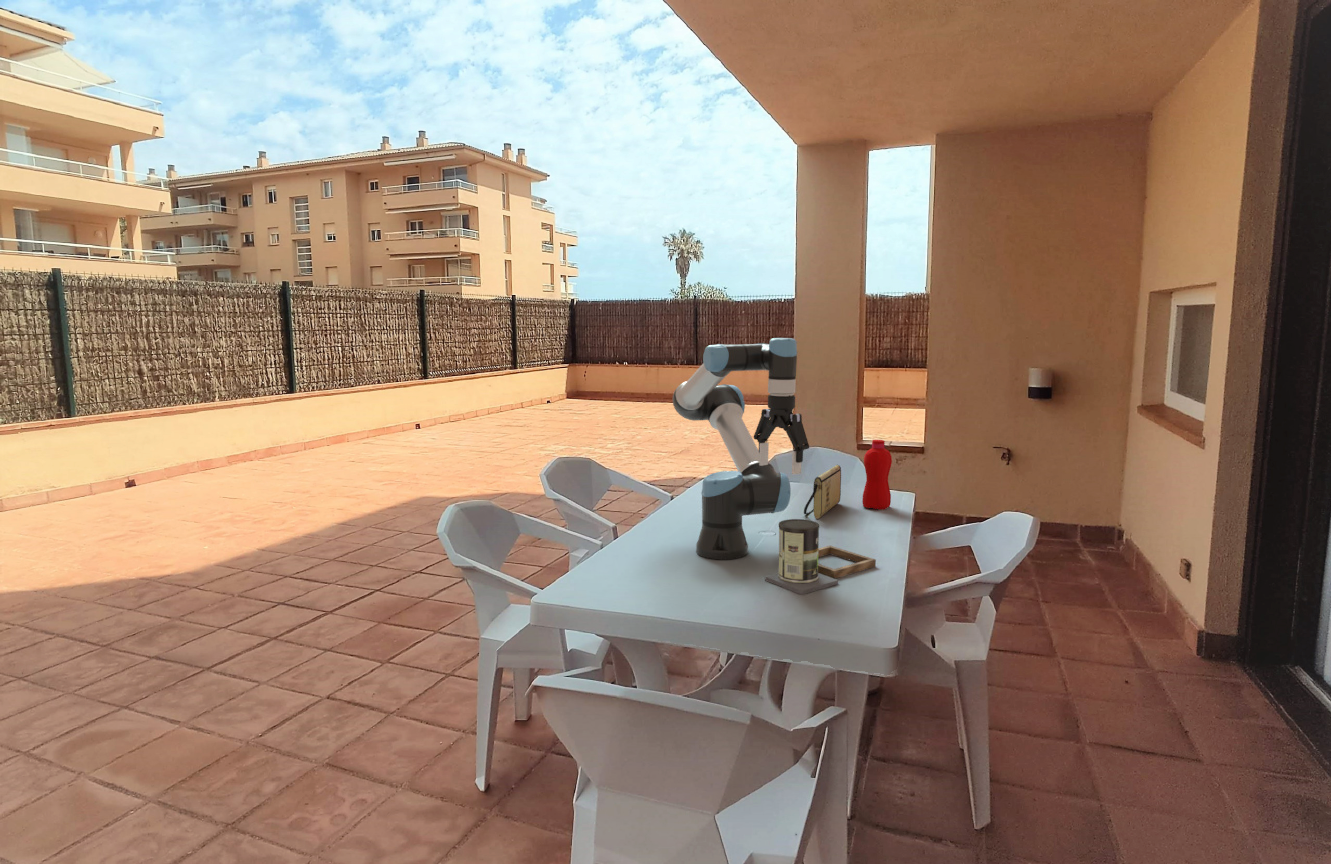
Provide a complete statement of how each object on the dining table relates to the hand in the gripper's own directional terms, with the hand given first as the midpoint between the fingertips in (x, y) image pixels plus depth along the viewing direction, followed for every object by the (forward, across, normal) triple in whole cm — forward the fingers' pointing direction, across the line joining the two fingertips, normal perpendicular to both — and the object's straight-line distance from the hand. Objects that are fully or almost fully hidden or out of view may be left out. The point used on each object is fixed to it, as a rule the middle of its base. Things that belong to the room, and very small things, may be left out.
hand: (779, 469), depth 203 cm
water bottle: (+27, +24, -70) cm, 79 cm away
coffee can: (+24, -19, +10) cm, 32 cm away
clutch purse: (+27, +31, -49) cm, 64 cm away
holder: (+25, -14, -7) cm, 30 cm away
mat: (+25, -20, +10) cm, 33 cm away
